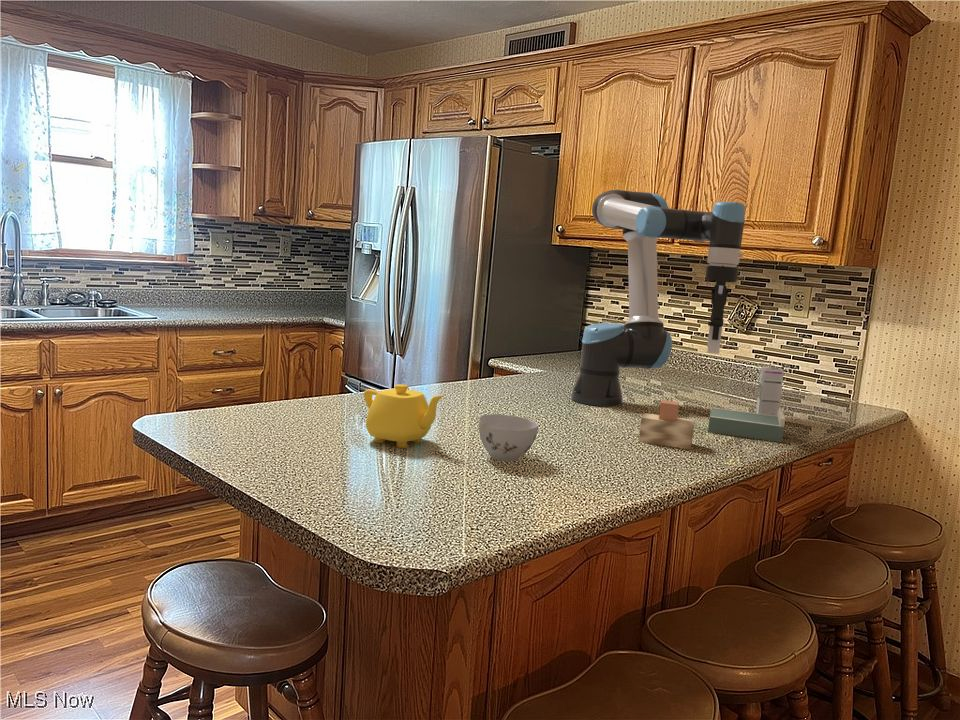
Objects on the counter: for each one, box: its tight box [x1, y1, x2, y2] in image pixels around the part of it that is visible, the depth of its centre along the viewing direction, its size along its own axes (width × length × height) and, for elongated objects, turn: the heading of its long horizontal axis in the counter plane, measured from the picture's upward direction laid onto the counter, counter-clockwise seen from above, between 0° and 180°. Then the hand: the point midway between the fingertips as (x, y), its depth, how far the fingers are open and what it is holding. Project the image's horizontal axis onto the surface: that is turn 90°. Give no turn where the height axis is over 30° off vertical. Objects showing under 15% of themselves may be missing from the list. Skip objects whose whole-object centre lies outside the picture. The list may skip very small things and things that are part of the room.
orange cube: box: [658, 399, 680, 422], centre depth 180 cm, size 4×4×4 cm
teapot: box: [363, 383, 445, 449], centre depth 163 cm, size 13×20×12 cm
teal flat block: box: [707, 407, 786, 443], centre depth 199 cm, size 18×14×6 cm
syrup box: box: [755, 365, 785, 416], centre depth 222 cm, size 6×6×14 cm
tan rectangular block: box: [638, 412, 696, 450], centre depth 180 cm, size 12×6×6 cm, turn 71°
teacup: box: [478, 413, 539, 463], centre depth 157 cm, size 15×12×8 cm
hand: (712, 350), depth 190 cm, fingers open, 13 cm apart
